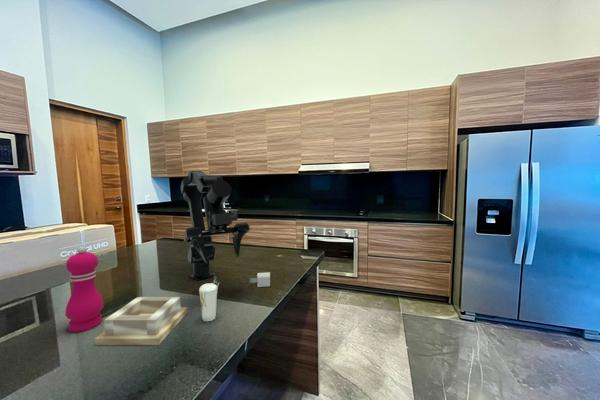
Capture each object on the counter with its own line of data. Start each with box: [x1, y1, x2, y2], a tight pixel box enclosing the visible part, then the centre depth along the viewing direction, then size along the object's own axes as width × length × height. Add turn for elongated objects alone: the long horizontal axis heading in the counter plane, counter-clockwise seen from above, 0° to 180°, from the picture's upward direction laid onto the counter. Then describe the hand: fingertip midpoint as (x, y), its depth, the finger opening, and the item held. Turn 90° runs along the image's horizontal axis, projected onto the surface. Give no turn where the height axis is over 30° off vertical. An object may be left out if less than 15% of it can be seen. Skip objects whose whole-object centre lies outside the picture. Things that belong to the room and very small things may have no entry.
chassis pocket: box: [94, 296, 188, 346], centre depth 62 cm, size 14×14×5 cm
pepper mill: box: [64, 246, 104, 333], centre depth 62 cm, size 7×7×20 cm
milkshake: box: [198, 282, 220, 322], centre depth 65 cm, size 5×5×10 cm
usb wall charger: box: [249, 272, 271, 288], centre depth 87 cm, size 4×7×4 cm, turn 99°
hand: (222, 259), depth 74 cm, fingers open, 9 cm apart
